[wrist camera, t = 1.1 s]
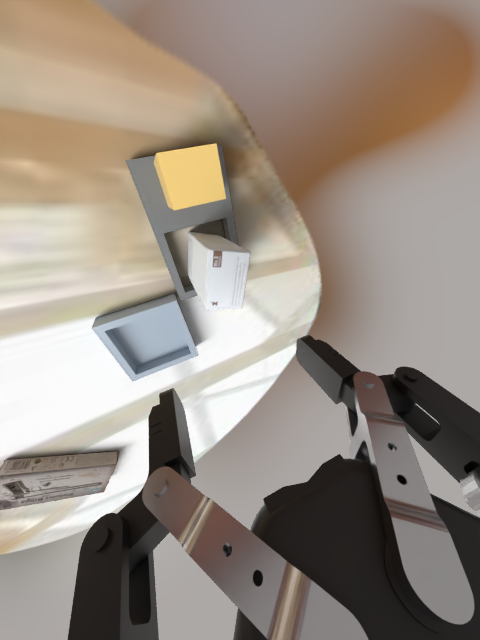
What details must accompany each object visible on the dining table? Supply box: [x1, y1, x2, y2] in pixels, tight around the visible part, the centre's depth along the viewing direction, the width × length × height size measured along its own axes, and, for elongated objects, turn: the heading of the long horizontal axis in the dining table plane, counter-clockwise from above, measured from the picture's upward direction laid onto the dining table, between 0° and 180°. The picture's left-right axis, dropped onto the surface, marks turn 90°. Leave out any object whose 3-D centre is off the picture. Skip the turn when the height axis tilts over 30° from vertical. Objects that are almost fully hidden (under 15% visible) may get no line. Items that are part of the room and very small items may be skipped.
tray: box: [92, 294, 198, 381], centre depth 31 cm, size 11×11×2 cm
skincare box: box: [188, 232, 251, 310], centre depth 24 cm, size 6×4×12 cm
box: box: [0, 451, 118, 510], centre depth 39 cm, size 11×17×3 cm, turn 59°
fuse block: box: [126, 143, 238, 301], centre depth 24 cm, size 16×10×8 cm, turn 9°
